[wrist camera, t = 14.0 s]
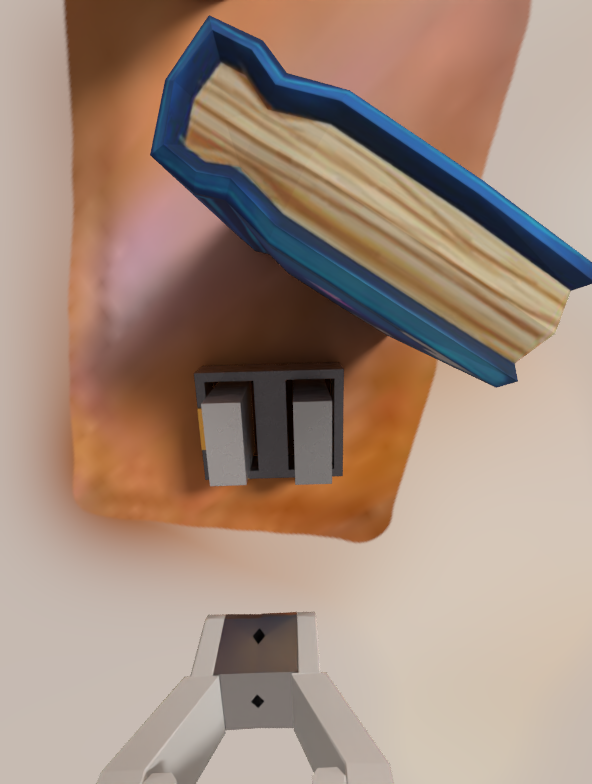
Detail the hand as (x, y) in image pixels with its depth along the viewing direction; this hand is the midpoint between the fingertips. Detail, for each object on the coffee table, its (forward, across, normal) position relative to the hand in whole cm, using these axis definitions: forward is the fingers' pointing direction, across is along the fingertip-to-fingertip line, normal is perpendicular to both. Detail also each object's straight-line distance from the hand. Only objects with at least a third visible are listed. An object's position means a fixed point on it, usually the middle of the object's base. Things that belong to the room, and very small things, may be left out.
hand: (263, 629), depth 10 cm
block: (+34, +6, +6) cm, 35 cm away
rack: (+34, +2, +6) cm, 35 cm away
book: (+34, -5, -12) cm, 37 cm away
